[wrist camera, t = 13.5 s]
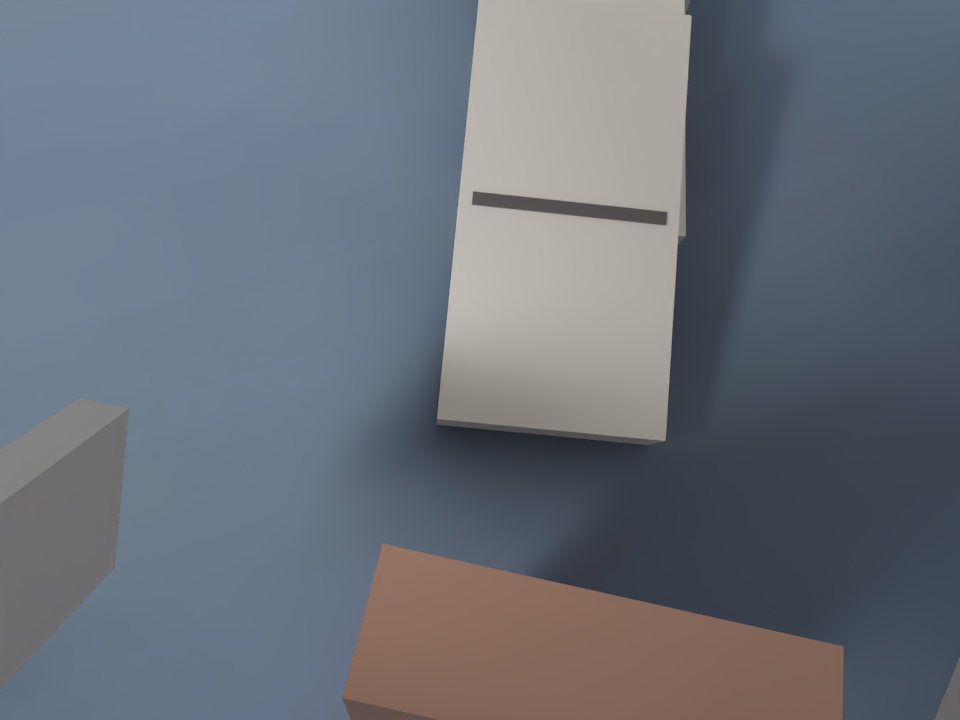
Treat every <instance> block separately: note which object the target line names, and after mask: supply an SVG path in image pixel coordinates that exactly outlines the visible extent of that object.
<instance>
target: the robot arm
mask: <svg viewBox="0 0 960 720" xmlns="http://www.w3.org/2000/svg"><path fill="white" fill-rule="evenodd" d="M128 413H129V409H128V408H124V407H119V406H114V405H110V404H105V403H101V402H96V401H91V400H87V399H82V398H79V399H78V400H76V401H75V402H73V403H72V404H70V405H68V406H67V407H65V408H64V409H62V410H61V411H59V412H58V413H56V414H54V415H53V416H51V417H50V418H48V419H47V420H45V421H43V422H42V423H40V424H39V425H37V426H36V427H34V428H33V429H31V430H29V431H28V432H26V433H25V434H23V435H22V436H20V437H18V438H17V439H15V440H14V441H12V442H11V443H9V444H8V445H6V446H4V447H3V448H1V449H0V689H1V688H2V687H3V686H4V685H5V684H6V683H7V682H8V681H9V680H10V679H11V677H12V676H13V675H14V674H15V673H16V672H17V671H18V670H19V669H20V668H21V667H22V666H23V665H24V664H25V662H26V661H27V660H28V659H29V658H30V657H31V656H32V655H33V654H34V653H35V652H36V651H37V650H38V649H39V648H40V646H41V645H42V644H43V643H44V642H45V641H46V640H47V639H48V638H49V637H50V636H51V635H52V634H53V633H54V631H55V630H56V629H57V628H58V627H59V626H60V625H61V624H62V623H63V622H64V621H65V620H66V619H67V618H68V616H69V615H70V614H71V613H72V612H73V611H74V610H75V609H76V608H77V607H78V606H79V605H80V604H81V603H82V601H83V600H84V599H85V598H86V597H87V596H88V595H89V594H90V593H91V592H92V591H93V590H94V589H95V588H96V587H97V585H98V584H99V583H100V582H101V581H102V580H103V579H104V578H105V577H106V576H107V575H108V574H109V573H110V572H111V570H112V569H113V568H114V567H115V558H116V547H117V535H118V524H119V513H120V502H121V491H122V480H123V469H124V458H125V447H126V436H127V425H128ZM934 720H960V658H959V661H958V663H957V666H956V668H955V670H954V673H953V675H952V678H951V680H950V683H949V685H948V688H947V690H946V692H945V695H944V697H943V700H942V702H941V705H940V707H939V710H938V712H937V714H936V717H935V719H934Z"/></svg>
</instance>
